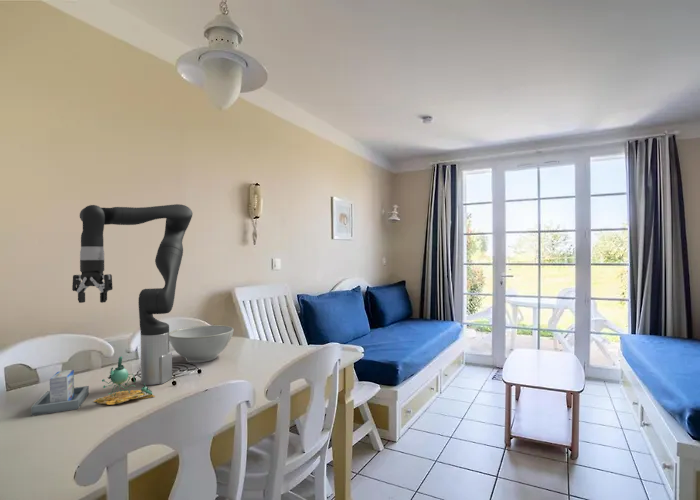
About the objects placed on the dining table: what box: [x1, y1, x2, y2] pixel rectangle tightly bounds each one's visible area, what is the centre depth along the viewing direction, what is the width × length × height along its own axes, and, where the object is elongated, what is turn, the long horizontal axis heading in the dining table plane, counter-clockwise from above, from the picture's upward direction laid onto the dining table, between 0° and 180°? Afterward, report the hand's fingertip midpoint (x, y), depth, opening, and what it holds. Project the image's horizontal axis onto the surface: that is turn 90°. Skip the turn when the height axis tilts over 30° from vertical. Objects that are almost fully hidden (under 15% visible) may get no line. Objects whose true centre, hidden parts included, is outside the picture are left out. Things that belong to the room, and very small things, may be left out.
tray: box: [31, 385, 90, 417], centre depth 116 cm, size 11×14×2 cm
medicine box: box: [49, 369, 75, 403], centre depth 116 cm, size 8×4×9 cm, turn 25°
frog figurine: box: [93, 356, 156, 406], centre depth 118 cm, size 10×18×15 cm, turn 91°
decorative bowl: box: [169, 324, 234, 363], centre depth 166 cm, size 27×27×12 cm
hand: (92, 302), depth 142 cm, fingers open, 8 cm apart
